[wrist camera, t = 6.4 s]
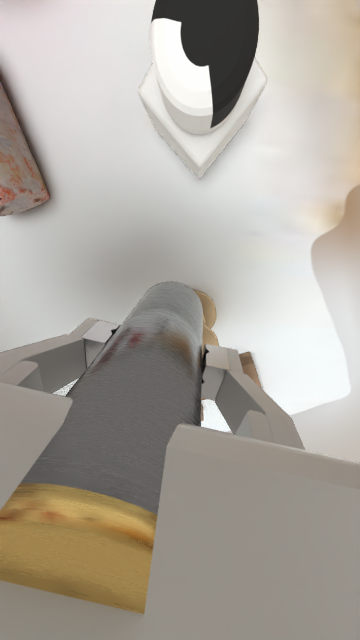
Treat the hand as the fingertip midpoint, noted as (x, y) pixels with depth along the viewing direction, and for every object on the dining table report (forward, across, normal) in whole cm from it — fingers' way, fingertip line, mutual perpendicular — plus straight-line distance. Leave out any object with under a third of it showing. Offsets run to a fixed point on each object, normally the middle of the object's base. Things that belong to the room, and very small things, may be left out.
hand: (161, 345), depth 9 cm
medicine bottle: (+21, +2, -14) cm, 25 cm away
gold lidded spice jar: (+4, 0, 0) cm, 4 cm away
